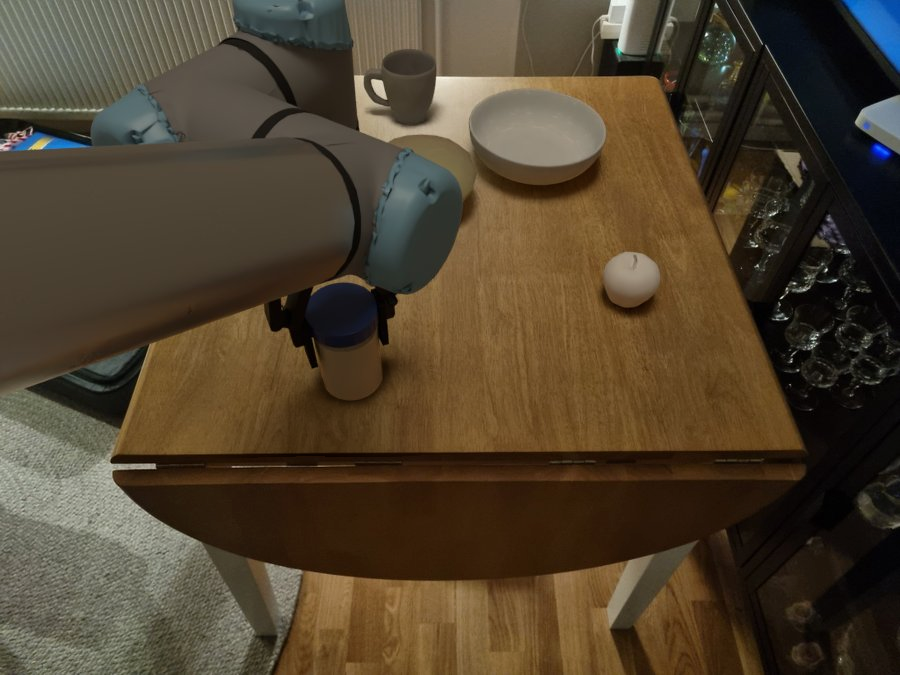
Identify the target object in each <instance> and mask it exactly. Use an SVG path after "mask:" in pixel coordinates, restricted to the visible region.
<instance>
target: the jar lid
mask: <svg viewBox="0 0 900 675" xmlns="http://www.w3.org/2000/svg"><path fill="white" fill-rule="evenodd" d="M378 316H379V312H378V307H377V302H376V299H375V297H374V296H373V294H372V293H371V290H369V289H368V288H366V287H364V286H363V285H360V284H357V283H354V282H344V281H343V282H341V281H340V282H334V283H329V284H327V285H324V286H322V287H320V288H318V289H317V290H316V291H314V292H312V293H311V297H310V300H309V303H308V306H307V310H306V313H305V318H306V320H307V323H308V325H309V328H310V332H311V336H312V339H313V338H314V339H315V340H316V341H317V342H318V343H321V344H323V345H325V346H328V347H333V348H346V347H351V346H356V345H357V344H360V343H362V342H364V341H365V340H366V339H368V338H369V337H370V336H371V335H372V334H373V332H374V331H375V330H376V327H377V324H378V323H379V320H378Z"/></svg>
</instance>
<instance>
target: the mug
mask: <svg viewBox="0 0 900 675" xmlns="http://www.w3.org/2000/svg"><path fill="white" fill-rule="evenodd" d="M372 80H376V81H381V82H382V85H383V89H384V93H385V97H386V98H383V97H381V96H380V95H378V94H377V92H376V91H375V89H374V86H373V83H372ZM436 83H437V61H436V59H435V57H434V56H433V55H432V54H431V53H429V52H427V51H424V50H421V49H416V48H403V49H397V50H394V51H391V52H389V53H388V54H386V55H385V56H384V57H383V59H382V60H381V68H373V67H371V68H368V70H366V71H365V73H364V75H363V88H364V90H365V92H366V94H367V96H368V97H369V99H370V100H371V101H372V102H373V103H374V104H377V105H380V106H384V107H390V109H391V111H392V112H393V114H394V117H395V120H396V121H397V122H398V123H401V124H403V125H408V126H409V125H410V126H412V125H417V124H421V123H422V122H424V121H425V120H426V118H427V114H428V113H429V110H430V108H431V105H432V103H433V100H434V96H435V91H436Z"/></svg>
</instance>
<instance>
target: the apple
mask: <svg viewBox="0 0 900 675" xmlns="http://www.w3.org/2000/svg"><path fill="white" fill-rule="evenodd" d="M602 284H603V286H604V290H605V292H606V295H607V297H608V299H609V300H610V302H612V304H614V305H617V306H618V307H622V308H624V309H625V308H626V309H628V308H635V307H639V306H640V305H642V304H644V303H645V302H647V301H648V300H650V299H651V298H652V297H653V296H654V295H655V294H656V292H657V291H658V290H659V287H660V285H661V272H660V268H659V266H658V265H657V263H656V262H655V261H654V260H652V258H650V257H649V256H647V254H644V253H642V252H635V251H624V252H621V253H619V254H617V255H615V256H613V257H612V258H610V260H608V261H607V263H606V265H605V266H604V269H603V271H602Z"/></svg>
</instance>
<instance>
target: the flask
mask: <svg viewBox="0 0 900 675" xmlns="http://www.w3.org/2000/svg"><path fill="white" fill-rule="evenodd" d="M387 143H390V144H393V145H395V146H398V147H400V148H403V149H404V148H405V147H408V148H411V149H412V150H413V152H414V153H416V154H418V155H420V156H422V157H424V158H426V159H428V160H430V161H432V162H434V163H436V164H438V165H440V166H442V167H444V168H446V169H447V170H449V171H450V172H451V173H452V174H453V175H454V176H455V177H456V179H457V181H458V182H459V185H460V188H461V191H462V198H463V202H464V201H465V200H467V198H468V197H469V196H470V195H471V193H472V191H473V189H474V186H475V183H476V179H477V175H478V174H477V170H476V167H475V164H474V162H473V159H472V157H471V154H470V152H469V151H468V150H466V149H465V148H464V147H462V146H461V145H459V143H457V142H455V141H454V140H451V139H450V138H448V137H443V136H439V135H433V134H421V133H420V134H409V135H403V136H402V135H401V136H398V137H395V138H392V139H391V140H390V141H387Z"/></svg>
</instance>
